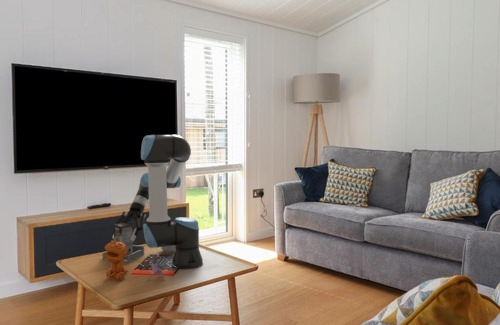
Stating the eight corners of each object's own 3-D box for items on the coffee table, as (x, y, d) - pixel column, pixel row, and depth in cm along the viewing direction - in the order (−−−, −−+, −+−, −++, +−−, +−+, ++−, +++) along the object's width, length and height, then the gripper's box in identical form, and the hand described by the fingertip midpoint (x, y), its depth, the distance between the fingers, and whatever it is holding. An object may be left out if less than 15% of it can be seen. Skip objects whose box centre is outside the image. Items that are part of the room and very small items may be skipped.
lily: (163, 288, 190) (171, 266, 193) (137, 278, 189) (146, 257, 191) (163, 287, 201) (171, 266, 204) (138, 278, 200) (147, 257, 203)
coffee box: (114, 254, 233) (112, 224, 232) (125, 251, 238) (124, 222, 236) (122, 257, 226) (120, 227, 225) (133, 255, 231) (132, 225, 229)
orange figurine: (101, 277, 201) (100, 238, 200) (125, 273, 206) (124, 235, 205) (106, 284, 191) (105, 244, 190) (131, 280, 197) (130, 240, 195)
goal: (144, 255, 236) (143, 245, 236) (128, 262, 223) (128, 252, 223) (118, 252, 241) (118, 243, 241) (102, 259, 228) (102, 250, 228)
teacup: (176, 254, 236) (175, 240, 236) (157, 253, 239) (156, 239, 238) (185, 247, 250) (184, 234, 249) (167, 246, 252) (166, 233, 252)
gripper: (159, 210, 244) (144, 245, 230) (123, 208, 251) (107, 241, 237) (153, 202, 238) (138, 237, 225) (118, 200, 245) (101, 234, 232)
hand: (122, 239), depth 231 cm, fingers closed on coffee box, 10 cm apart
